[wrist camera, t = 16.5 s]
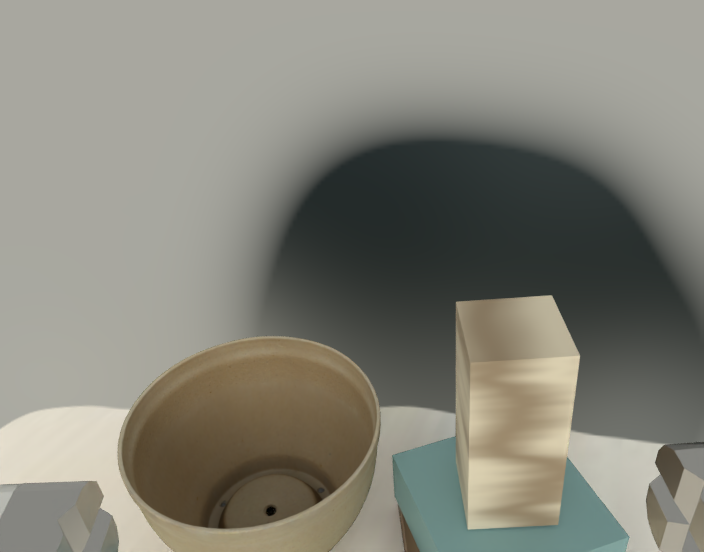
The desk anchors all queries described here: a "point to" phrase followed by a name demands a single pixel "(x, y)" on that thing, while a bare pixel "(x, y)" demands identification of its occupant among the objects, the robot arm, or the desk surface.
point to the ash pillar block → (513, 410)
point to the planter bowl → (253, 447)
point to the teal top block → (494, 543)
